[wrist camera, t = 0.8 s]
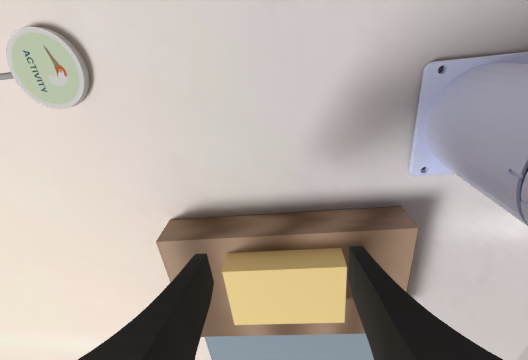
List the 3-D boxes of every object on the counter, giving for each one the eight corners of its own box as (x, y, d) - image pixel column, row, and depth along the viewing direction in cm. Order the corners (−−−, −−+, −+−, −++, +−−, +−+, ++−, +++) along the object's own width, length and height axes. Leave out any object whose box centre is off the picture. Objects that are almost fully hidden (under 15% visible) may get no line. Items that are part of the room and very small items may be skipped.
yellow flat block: (341, 247, 21) (347, 266, 19) (339, 301, 23) (344, 322, 21) (226, 253, 21) (222, 271, 20) (237, 304, 24) (234, 325, 22)
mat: (386, 308, 28) (387, 311, 27) (374, 387, 34) (375, 391, 34) (199, 313, 29) (198, 316, 29) (222, 387, 36) (221, 391, 36)
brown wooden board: (401, 206, 22) (418, 228, 19) (386, 305, 27) (398, 333, 25) (169, 219, 24) (156, 241, 21) (198, 310, 29) (190, 336, 26)
